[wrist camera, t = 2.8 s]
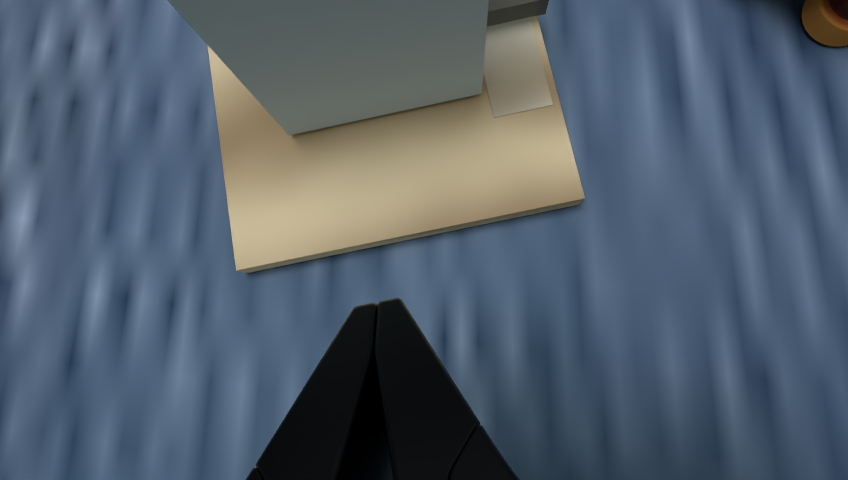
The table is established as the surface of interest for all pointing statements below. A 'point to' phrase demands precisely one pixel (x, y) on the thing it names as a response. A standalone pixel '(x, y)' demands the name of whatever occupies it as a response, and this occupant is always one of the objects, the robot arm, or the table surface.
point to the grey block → (351, 52)
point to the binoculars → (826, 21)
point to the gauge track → (397, 162)
